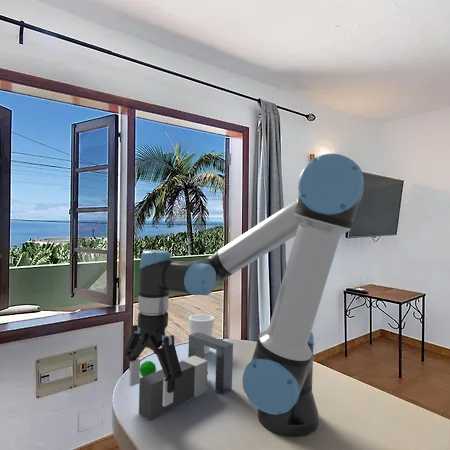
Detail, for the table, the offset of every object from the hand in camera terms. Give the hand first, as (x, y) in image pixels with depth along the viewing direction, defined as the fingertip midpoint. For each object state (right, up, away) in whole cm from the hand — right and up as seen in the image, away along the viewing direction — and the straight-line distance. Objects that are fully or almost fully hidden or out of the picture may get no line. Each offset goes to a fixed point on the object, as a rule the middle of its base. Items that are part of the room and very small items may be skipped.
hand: (150, 393), depth 87 cm
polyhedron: (-5, -5, +20) cm, 21 cm away
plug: (+5, -5, +6) cm, 10 cm away
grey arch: (+14, -5, +17) cm, 23 cm away
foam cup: (+10, -5, +41) cm, 43 cm away
